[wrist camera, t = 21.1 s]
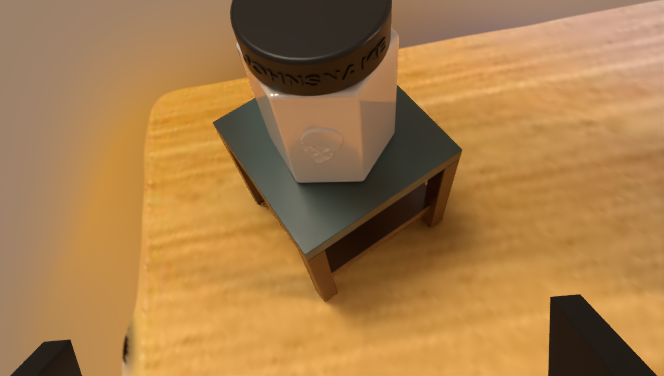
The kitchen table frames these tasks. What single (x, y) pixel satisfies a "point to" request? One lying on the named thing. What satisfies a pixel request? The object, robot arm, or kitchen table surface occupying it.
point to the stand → (347, 188)
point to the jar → (322, 81)
